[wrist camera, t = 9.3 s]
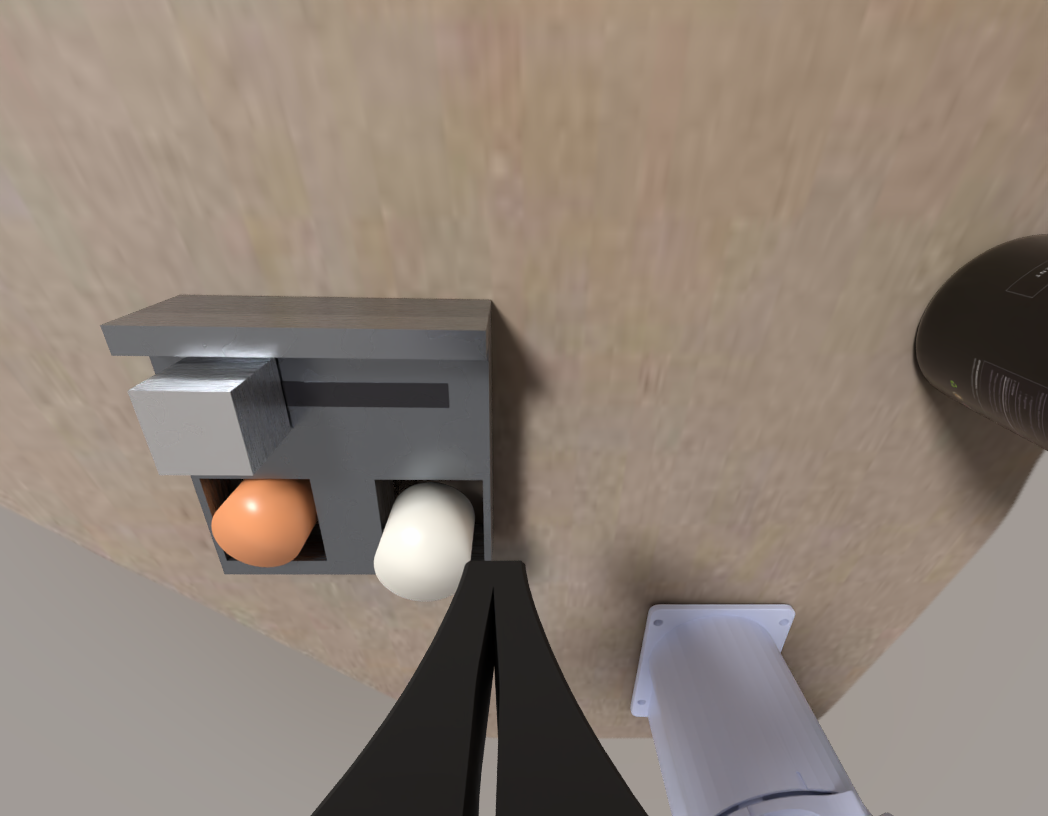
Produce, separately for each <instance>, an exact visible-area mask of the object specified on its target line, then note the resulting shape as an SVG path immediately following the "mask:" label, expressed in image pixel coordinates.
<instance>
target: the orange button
mask: <svg viewBox="0 0 1048 816" xmlns="http://www.w3.org/2000/svg"><path fill="white" fill-rule="evenodd" d="M317 520H318V516H317V511H316V506H315V502H314V497H313V492H312V488H311V483H310V479H244V480H243V481H242V482H241V483H240V484H239V486H238V487H237V488H236V489H235V490H234V491H233V493H232V494H231V495H230V496H229V497H228V498H227V499H226V501H225V502H224V503H223V504H222V505H221V506H220V508H219V509H218V510H217V511H216V512H215V514H214V516H213V519H212V525H211V526H212V533H213V536H214V538H215V540H216V541H217V543H218V544H219V546H220V547H221V548H222V549H223V550H224V551H225V552H226V553H227V554H229V555H230V556H232V557H233V558H235V559H237V560H239V561H241V562H243V563H246V564H249V565H253V566H258V567H276V566H281V565H284V564H286V563H288V562H290V561H292V560H293V559H294V558H295V557H296V556H297V555H298V554H299V552H300V551H301V549H302V547H303V545H304V544H305V542H306V540H307V538H308V536H309V535H310V533H311V531H312V529H313V527H314V526H315V524H316V522H317Z"/></svg>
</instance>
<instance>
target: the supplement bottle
mask: <svg viewBox="0 0 1048 816" xmlns="http://www.w3.org/2000/svg"><path fill="white" fill-rule="evenodd" d="M916 356H917V361H918V364H919V367H920V370H921V372H922V374H923V375H924V377H925V378H926V379H927V381H928V382H929V383H930V384H931V385H932V386H933V387H935V388H936V389H937V390H939V391H940V392H942V393H944V394H945V395H947V396H949V397H950V398H952V399H954V400H956V401H957V402H959V403H961V404H963V405H964V406H966V407H968V408H970V409H972V410H973V411H975V412H977V413H979V414H981V415H983V416H984V417H986V418H988V419H990V420H992V421H994V422H995V423H997V424H999V425H1001V426H1003V427H1005V428H1006V429H1008V430H1010V431H1012V432H1014V433H1016V434H1017V435H1019V436H1021V437H1023V438H1025V439H1027V440H1028V441H1030V442H1032V443H1034V444H1036V445H1038V446H1039V447H1041V448H1043V449H1045V450H1047V451H1048V234H1041V235H1032V236H1027V237H1022V238H1018V239H1015V240H1011V241H1008V242H1006V243H1003V244H1000V245H998V246H996V247H994V248H991V249H989V250H987V251H986V252H984V253H982V254H980V255H979V256H977V257H975V258H974V259H972V260H971V261H969V262H968V263H967V264H965V265H964V266H963V267H961V268H960V269H959V270H958V271H957V272H955V273H954V274H953V275H952V276H951V277H950V278H949V279H948V280H947V281H946V282H945V283H944V284H943V285H942V287H941V288H940V289H939V290H938V292H937V293H936V294H935V295H934V297H933V298H932V300H931V301H930V303H929V305H928V306H927V308H926V310H925V312H924V314H923V316H922V319H921V322H920V324H919V328H918V332H917V337H916Z"/></svg>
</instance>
